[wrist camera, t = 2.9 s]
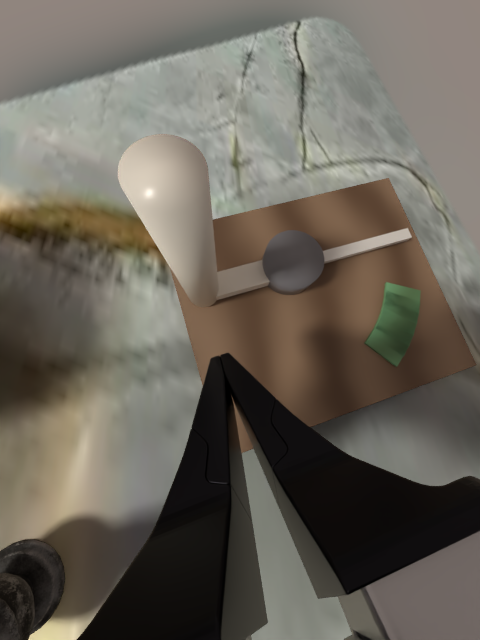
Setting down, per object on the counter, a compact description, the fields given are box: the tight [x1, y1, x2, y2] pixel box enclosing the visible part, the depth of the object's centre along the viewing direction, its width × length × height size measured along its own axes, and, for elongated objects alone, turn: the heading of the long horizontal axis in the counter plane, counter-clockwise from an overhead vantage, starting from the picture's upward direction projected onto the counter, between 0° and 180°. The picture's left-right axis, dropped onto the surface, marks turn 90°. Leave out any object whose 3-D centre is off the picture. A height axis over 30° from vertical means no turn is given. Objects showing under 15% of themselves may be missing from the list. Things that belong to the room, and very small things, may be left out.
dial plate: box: [170, 178, 476, 453], centre depth 18 cm, size 22×18×1 cm
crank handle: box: [118, 134, 412, 307], centre depth 12 cm, size 19×4×11 cm, turn 107°
